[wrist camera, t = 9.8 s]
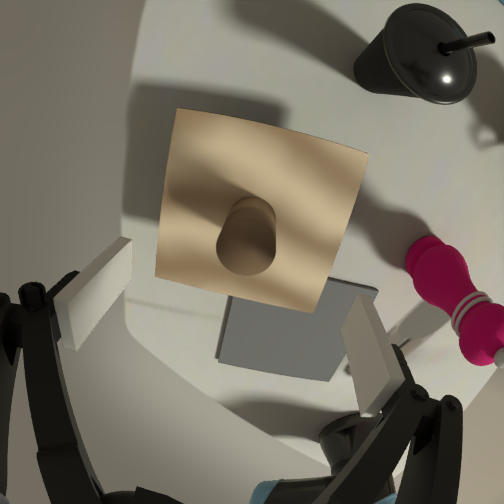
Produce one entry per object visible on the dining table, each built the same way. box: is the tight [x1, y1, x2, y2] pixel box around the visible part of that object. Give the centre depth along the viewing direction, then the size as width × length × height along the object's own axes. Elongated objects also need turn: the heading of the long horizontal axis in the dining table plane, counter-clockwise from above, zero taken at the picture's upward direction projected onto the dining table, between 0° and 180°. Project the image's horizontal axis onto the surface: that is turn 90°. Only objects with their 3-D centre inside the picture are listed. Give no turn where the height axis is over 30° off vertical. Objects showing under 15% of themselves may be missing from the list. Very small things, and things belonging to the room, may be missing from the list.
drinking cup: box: [354, 3, 495, 105], centre depth 17 cm, size 8×8×20 cm
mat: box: [218, 278, 379, 382], centre depth 40 cm, size 18×18×1 cm
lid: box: [155, 108, 370, 313], centre depth 23 cm, size 16×16×7 cm
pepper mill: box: [406, 236, 504, 368], centre depth 25 cm, size 7×7×20 cm
